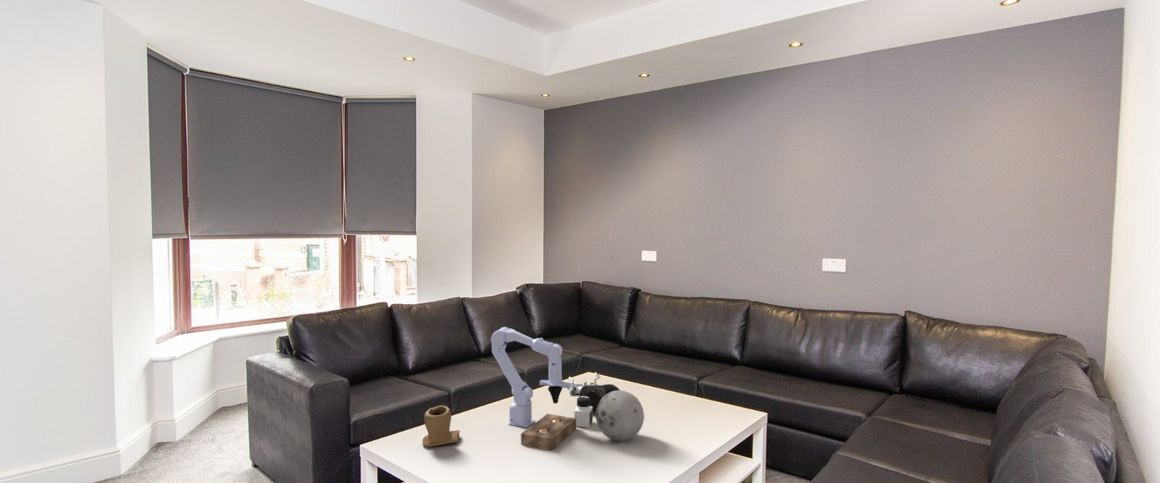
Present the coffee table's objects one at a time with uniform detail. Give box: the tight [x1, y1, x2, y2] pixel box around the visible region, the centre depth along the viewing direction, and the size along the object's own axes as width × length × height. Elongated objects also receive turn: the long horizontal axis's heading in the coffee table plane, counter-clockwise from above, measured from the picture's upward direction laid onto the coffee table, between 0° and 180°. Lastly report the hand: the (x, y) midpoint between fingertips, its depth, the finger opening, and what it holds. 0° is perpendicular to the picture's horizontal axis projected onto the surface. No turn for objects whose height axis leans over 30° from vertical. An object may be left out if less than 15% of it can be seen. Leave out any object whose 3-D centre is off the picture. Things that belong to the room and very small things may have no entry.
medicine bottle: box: [573, 396, 594, 428], centre depth 235 cm, size 7×7×12 cm
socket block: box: [520, 413, 577, 451], centre depth 222 cm, size 14×24×4 cm, turn 157°
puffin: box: [579, 383, 620, 413], centre depth 255 cm, size 20×21×13 cm
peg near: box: [539, 429, 548, 434], centre depth 216 cm, size 4×4×4 cm
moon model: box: [595, 389, 645, 442], centre depth 219 cm, size 20×20×20 cm
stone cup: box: [421, 405, 461, 447], centre depth 214 cm, size 15×12×15 cm
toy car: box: [566, 371, 601, 396], centre depth 281 cm, size 18×10×12 cm
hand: (555, 402), depth 232 cm, fingers closed
